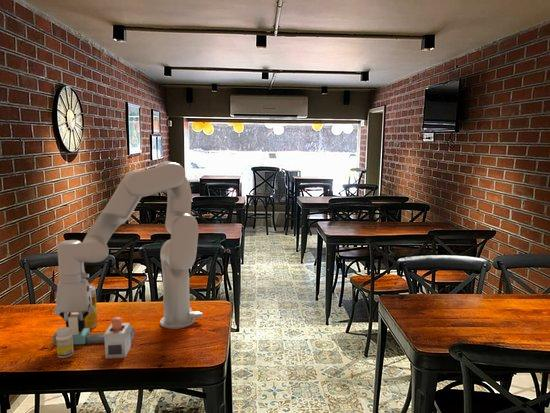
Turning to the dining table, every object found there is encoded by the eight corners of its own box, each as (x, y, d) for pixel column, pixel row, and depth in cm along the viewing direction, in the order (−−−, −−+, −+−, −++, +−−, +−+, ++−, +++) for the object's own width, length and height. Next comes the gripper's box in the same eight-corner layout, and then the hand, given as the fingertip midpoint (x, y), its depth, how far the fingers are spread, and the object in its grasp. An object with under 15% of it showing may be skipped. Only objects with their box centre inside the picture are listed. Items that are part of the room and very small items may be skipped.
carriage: (90, 336, 150) (88, 311, 149) (84, 344, 144) (82, 317, 143) (68, 337, 149) (67, 312, 148) (62, 345, 144) (60, 318, 143)
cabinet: (131, 345, 144) (129, 322, 143) (125, 357, 136) (123, 333, 135) (112, 346, 143) (111, 323, 142) (105, 358, 135) (103, 334, 134)
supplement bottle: (60, 351, 140) (58, 326, 139) (75, 350, 141) (74, 325, 140) (54, 358, 136) (52, 332, 134) (70, 357, 136) (68, 332, 135)
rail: (134, 336, 151) (133, 326, 151) (131, 342, 146) (130, 332, 146) (59, 339, 149) (58, 329, 148) (53, 346, 144) (52, 335, 143)
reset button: (123, 328, 140) (122, 316, 140) (121, 332, 137) (120, 320, 137) (113, 328, 140) (113, 316, 139) (111, 332, 137) (110, 320, 136)
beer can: (91, 330, 156) (88, 290, 154) (76, 329, 157) (73, 289, 155) (101, 323, 162) (98, 284, 160) (86, 322, 163) (84, 283, 161)
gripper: (101, 273, 148) (104, 325, 151) (51, 275, 147) (55, 327, 149) (94, 280, 141) (97, 334, 144) (41, 282, 139) (45, 336, 142)
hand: (75, 330), depth 146 cm, fingers closed on carriage, 2 cm apart
